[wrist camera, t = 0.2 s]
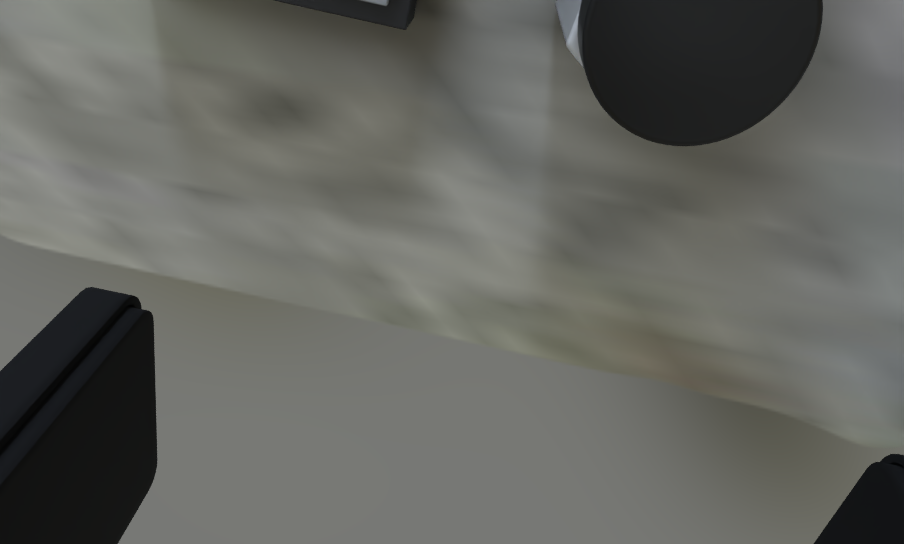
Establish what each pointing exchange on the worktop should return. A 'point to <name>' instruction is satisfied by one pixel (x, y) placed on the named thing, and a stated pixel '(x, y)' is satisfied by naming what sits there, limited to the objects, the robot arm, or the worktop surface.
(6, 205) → the worktop surface
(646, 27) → the jar
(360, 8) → the scale
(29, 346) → the robot arm
